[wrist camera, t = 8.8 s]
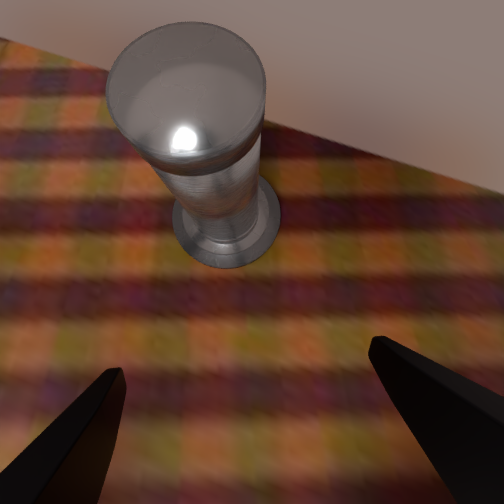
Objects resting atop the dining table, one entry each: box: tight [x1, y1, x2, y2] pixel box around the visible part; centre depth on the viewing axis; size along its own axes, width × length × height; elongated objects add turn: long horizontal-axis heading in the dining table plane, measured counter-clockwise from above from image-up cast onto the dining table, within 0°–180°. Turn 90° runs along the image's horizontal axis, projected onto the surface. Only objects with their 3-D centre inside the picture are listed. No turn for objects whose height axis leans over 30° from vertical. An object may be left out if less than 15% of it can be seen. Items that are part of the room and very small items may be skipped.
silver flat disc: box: [172, 175, 281, 269], centre depth 20 cm, size 9×9×1 cm
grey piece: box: [106, 22, 266, 244], centre depth 13 cm, size 5×5×12 cm
